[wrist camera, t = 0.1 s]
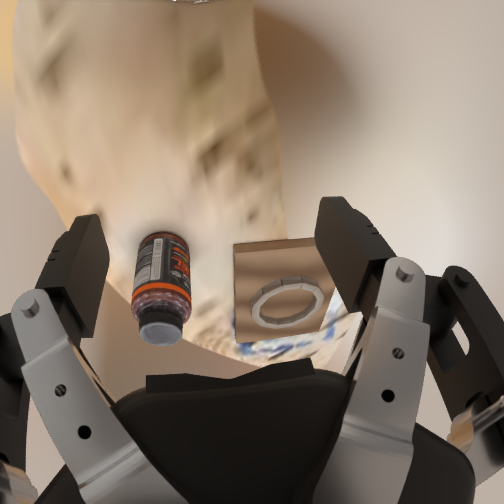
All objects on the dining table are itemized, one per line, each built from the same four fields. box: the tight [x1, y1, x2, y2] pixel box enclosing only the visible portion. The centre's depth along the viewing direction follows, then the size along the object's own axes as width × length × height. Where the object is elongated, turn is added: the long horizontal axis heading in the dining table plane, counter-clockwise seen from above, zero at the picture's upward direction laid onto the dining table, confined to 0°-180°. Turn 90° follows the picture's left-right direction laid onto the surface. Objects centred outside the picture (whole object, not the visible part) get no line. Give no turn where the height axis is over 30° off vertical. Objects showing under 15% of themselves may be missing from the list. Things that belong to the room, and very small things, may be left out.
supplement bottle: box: [131, 233, 192, 346], centre depth 29 cm, size 6×6×11 cm
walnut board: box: [234, 237, 335, 343], centre depth 41 cm, size 20×14×3 cm
